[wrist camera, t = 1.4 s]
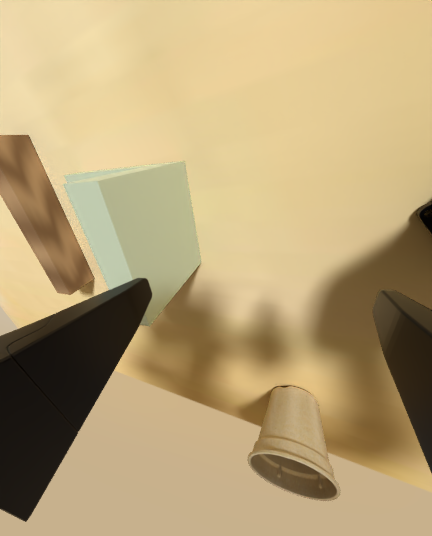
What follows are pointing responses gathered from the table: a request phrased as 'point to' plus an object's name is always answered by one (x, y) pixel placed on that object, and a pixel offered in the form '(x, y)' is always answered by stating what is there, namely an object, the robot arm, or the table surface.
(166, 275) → the bookend
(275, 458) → the flower pot
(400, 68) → the table surface
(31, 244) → the board
